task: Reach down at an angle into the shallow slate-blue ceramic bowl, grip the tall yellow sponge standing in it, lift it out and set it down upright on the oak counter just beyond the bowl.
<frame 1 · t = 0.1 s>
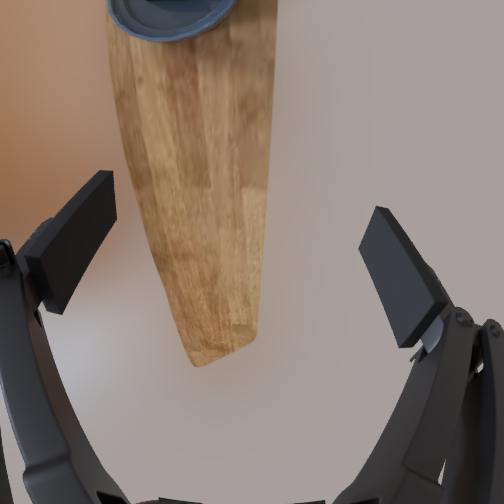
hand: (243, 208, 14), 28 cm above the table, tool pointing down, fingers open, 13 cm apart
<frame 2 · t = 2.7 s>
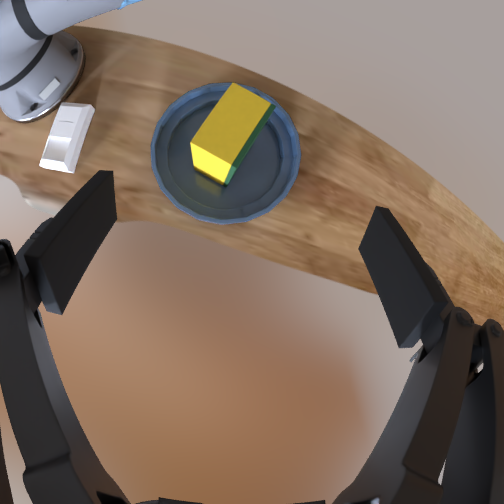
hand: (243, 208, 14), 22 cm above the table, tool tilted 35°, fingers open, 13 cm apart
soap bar: (69, 138, 31), on the table
sponge: (225, 154, 34), resting on bowl
bowl: (224, 155, 35), on the table
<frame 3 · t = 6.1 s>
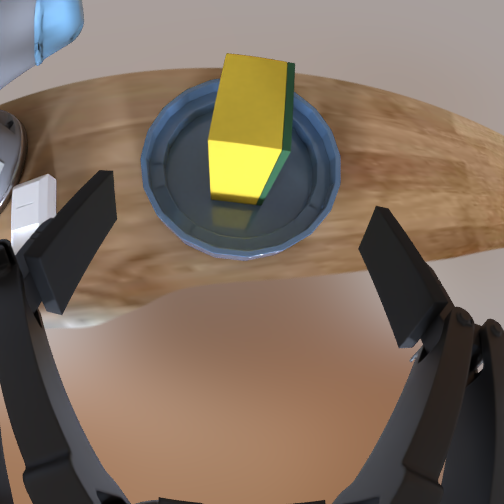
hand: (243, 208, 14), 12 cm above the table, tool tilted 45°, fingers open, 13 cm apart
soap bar: (39, 226, 24), on the table
sponge: (240, 166, 26), resting on bowl
bowl: (240, 168, 27), on the table
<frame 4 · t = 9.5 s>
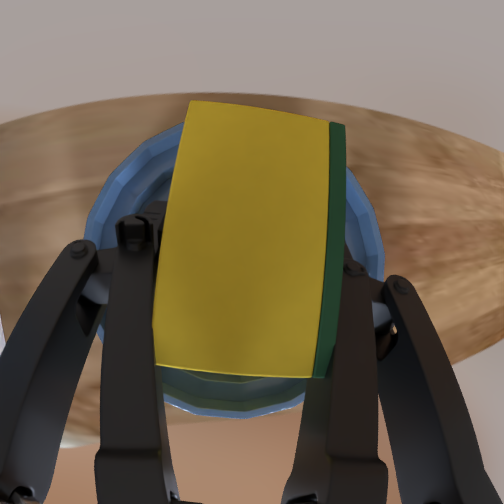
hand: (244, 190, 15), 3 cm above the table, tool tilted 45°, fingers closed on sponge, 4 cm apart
sponge: (233, 265, 18), point 1 cm above the table, touching bowl, gripper
bowl: (232, 265, 18), on the table
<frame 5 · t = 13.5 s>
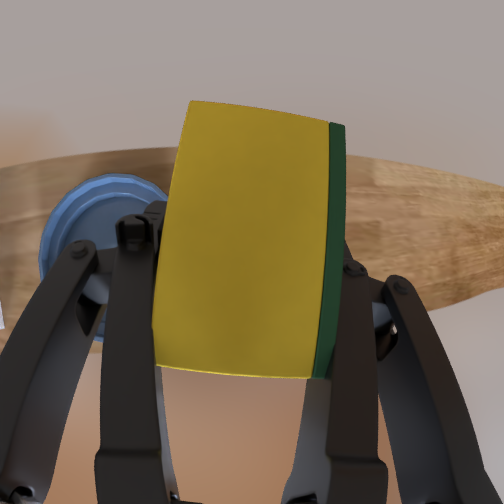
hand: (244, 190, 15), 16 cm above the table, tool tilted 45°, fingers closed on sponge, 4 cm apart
sponge: (233, 265, 18), point 13 cm above the table, touching gripper
bowl: (116, 259, 29), on the table
when the fingers open (3 cm above the table, at t = 17.5 s): sponge stays where it is, on the table.
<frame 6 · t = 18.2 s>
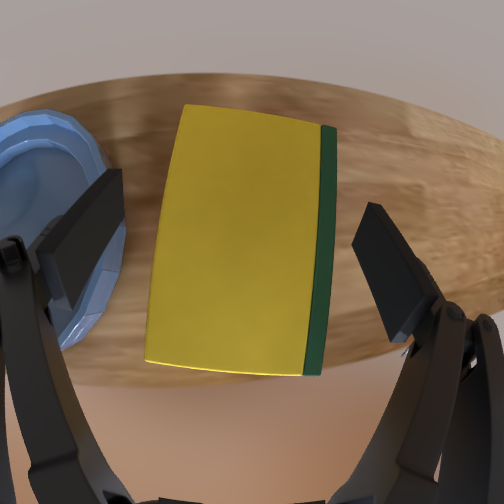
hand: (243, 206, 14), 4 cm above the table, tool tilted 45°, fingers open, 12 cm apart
sponge: (228, 265, 18), on the table
bowl: (26, 237, 16), on the table
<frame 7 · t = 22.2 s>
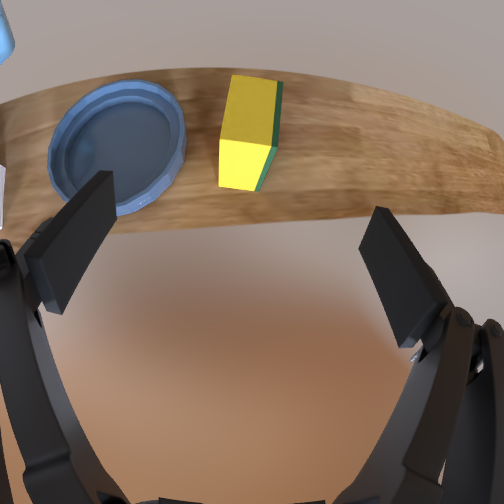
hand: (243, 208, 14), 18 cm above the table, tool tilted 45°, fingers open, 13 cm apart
sponge: (242, 161, 33), on the table
bowl: (118, 150, 31), on the table
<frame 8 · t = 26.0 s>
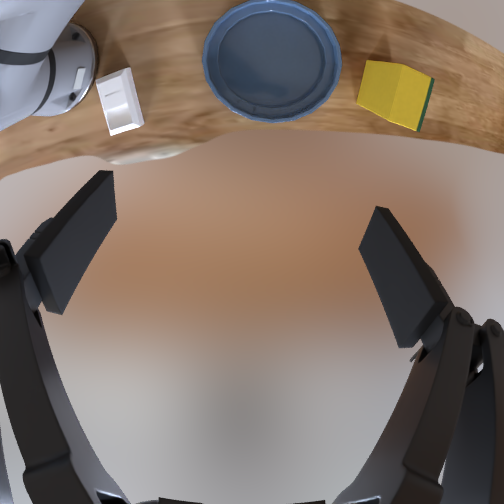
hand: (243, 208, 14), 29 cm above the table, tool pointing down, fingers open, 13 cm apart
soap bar: (122, 100, 35), on the table
sponge: (375, 86, 34), on the table
bowl: (271, 58, 32), on the table
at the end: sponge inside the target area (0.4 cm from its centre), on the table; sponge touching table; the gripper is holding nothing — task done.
